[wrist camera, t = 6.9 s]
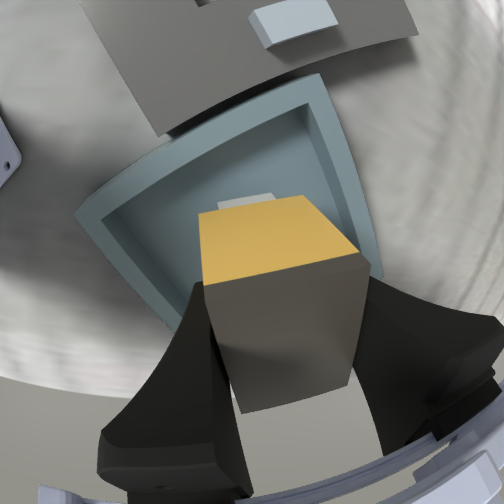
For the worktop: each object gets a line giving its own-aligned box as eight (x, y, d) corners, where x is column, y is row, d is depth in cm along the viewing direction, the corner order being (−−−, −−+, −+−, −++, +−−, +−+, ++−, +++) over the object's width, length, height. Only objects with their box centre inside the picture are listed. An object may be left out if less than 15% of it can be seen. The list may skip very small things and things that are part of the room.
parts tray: (206, 337, 19) (210, 365, 17) (89, 195, 13) (72, 214, 11) (364, 256, 18) (383, 277, 16) (298, 76, 12) (319, 73, 10)
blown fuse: (219, 295, 15) (241, 414, 9) (197, 196, 12) (204, 302, 6) (293, 279, 15) (347, 385, 9) (287, 180, 13) (371, 264, 7)
